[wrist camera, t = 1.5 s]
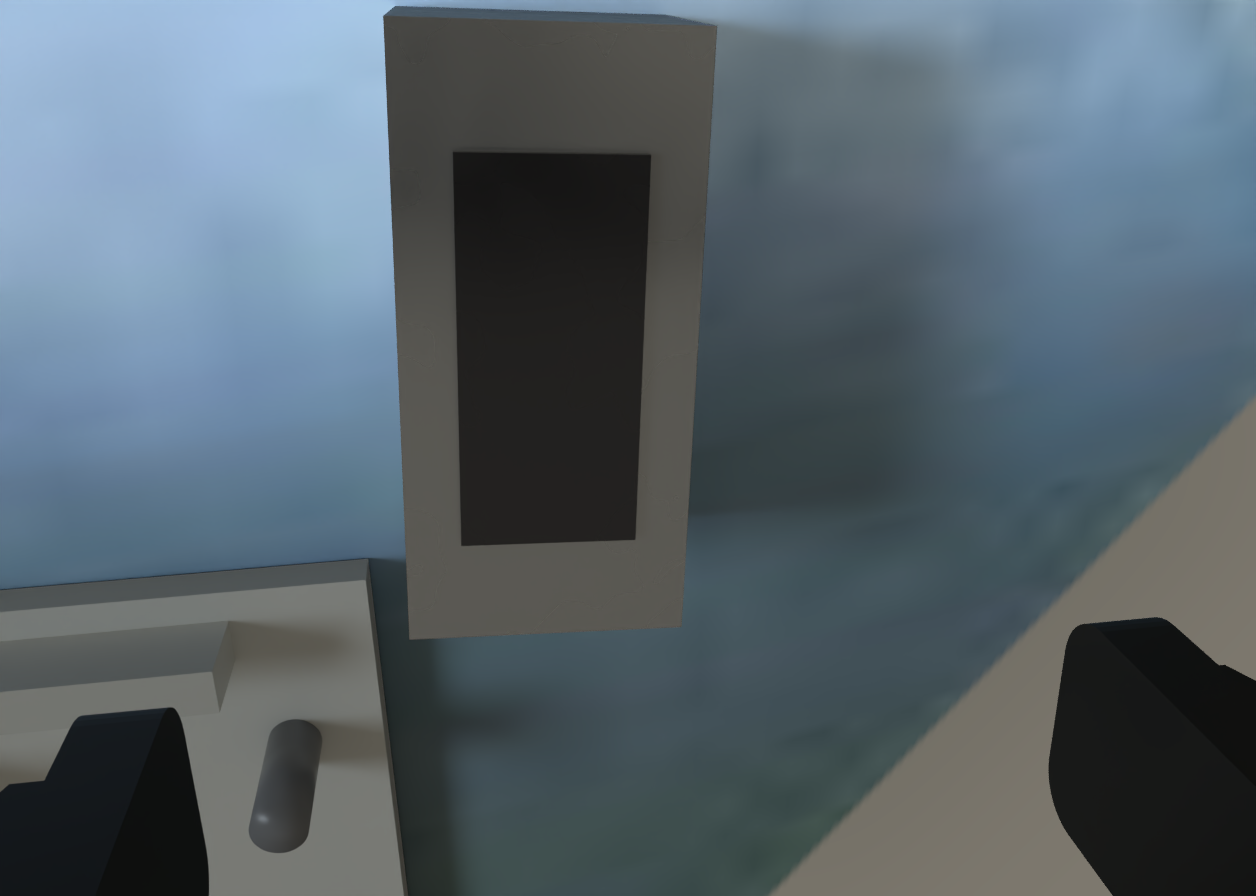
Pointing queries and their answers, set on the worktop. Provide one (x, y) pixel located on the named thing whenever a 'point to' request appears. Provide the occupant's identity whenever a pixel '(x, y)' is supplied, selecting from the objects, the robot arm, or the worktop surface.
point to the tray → (228, 711)
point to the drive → (546, 311)
